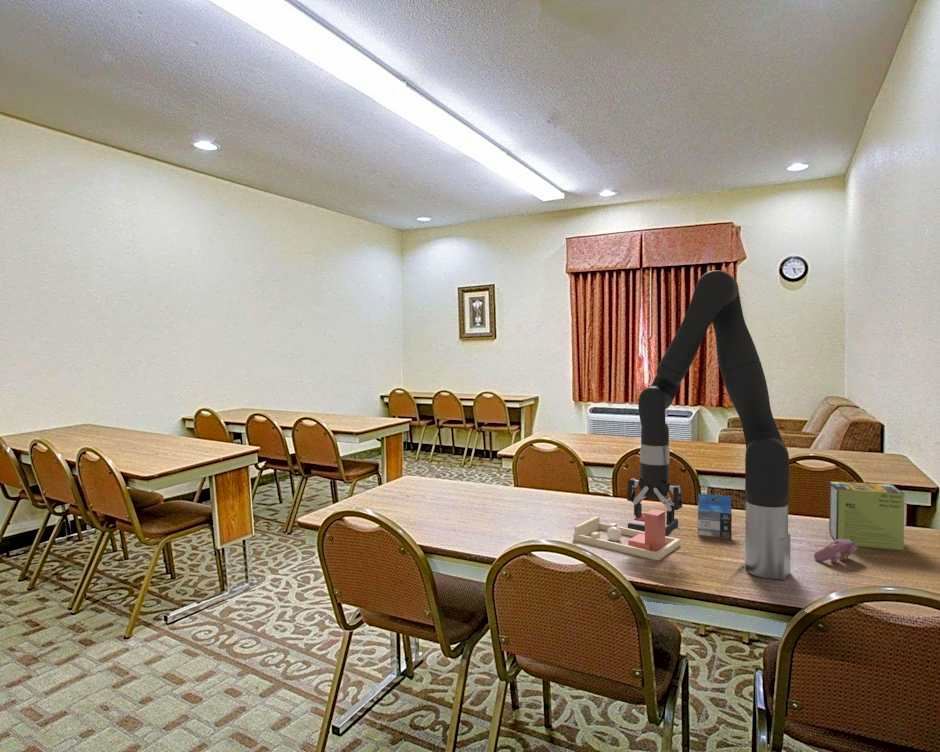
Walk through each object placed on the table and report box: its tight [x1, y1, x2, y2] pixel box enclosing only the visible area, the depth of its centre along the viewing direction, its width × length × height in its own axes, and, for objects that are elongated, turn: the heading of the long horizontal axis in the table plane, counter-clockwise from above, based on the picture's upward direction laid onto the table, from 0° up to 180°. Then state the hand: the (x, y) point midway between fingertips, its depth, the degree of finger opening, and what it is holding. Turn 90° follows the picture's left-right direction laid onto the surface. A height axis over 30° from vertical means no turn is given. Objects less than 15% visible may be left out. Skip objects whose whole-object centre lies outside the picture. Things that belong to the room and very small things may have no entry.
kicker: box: [627, 508, 666, 552], centre depth 154 cm, size 8×7×10 cm
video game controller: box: [813, 539, 859, 563], centre depth 146 cm, size 10×5×7 cm, turn 114°
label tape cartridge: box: [697, 493, 733, 541], centre depth 164 cm, size 9×4×12 cm, turn 68°
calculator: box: [627, 512, 679, 536], centre depth 172 cm, size 11×4×15 cm
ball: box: [606, 527, 622, 542], centre depth 161 cm, size 4×4×4 cm
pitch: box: [572, 515, 681, 561], centre depth 159 cm, size 25×14×5 cm, turn 48°
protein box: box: [828, 481, 906, 551], centre depth 159 cm, size 10×15×16 cm
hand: (653, 520), depth 153 cm, fingers open, 8 cm apart
